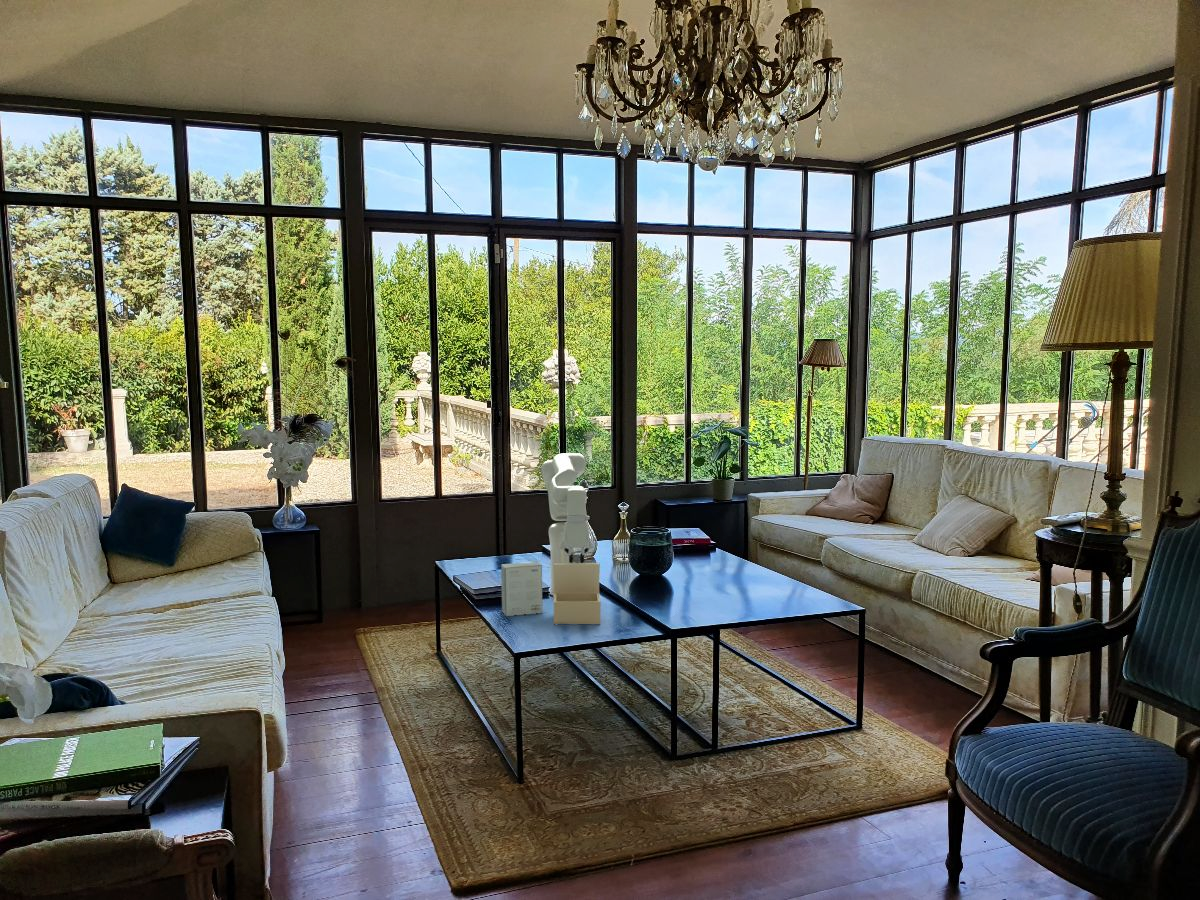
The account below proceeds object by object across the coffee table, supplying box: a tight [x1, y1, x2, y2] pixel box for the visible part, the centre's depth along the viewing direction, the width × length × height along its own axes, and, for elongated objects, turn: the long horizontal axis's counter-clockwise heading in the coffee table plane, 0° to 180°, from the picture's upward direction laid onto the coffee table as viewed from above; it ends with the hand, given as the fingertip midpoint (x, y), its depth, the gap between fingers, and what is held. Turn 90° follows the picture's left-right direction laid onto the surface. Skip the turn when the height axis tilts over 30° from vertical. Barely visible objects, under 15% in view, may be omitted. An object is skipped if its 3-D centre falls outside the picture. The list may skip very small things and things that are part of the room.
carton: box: [553, 592, 602, 625], centre depth 333 cm, size 14×18×9 cm
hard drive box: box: [500, 561, 544, 617], centre depth 342 cm, size 16×8×20 cm, turn 108°
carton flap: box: [554, 554, 601, 594], centre depth 339 cm, size 14×18×8 cm
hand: (576, 564), depth 339 cm, fingers closed on carton flap, 3 cm apart
